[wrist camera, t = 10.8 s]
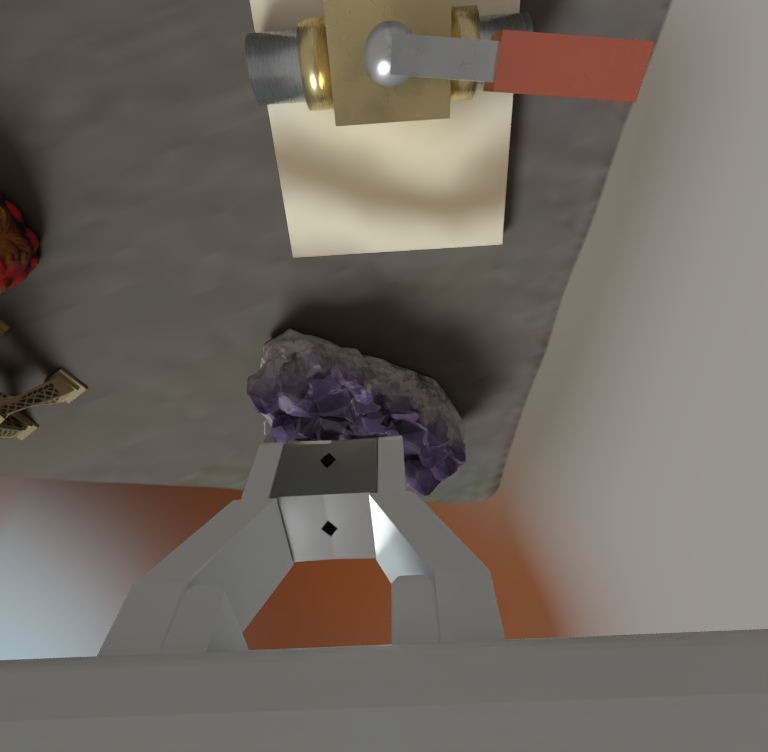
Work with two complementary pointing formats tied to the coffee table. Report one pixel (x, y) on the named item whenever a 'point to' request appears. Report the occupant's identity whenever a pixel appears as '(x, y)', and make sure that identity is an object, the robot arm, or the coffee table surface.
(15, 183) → the coffee table surface
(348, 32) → the valve body
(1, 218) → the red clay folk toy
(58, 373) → the eiffel tower
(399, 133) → the base board
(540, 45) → the valve lever
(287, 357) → the geode
